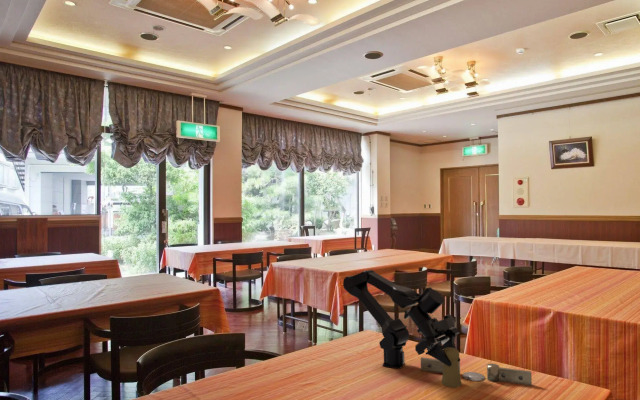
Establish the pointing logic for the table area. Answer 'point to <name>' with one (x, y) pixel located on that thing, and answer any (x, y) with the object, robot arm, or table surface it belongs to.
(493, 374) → the hinge frame
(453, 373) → the olive rounded piece
